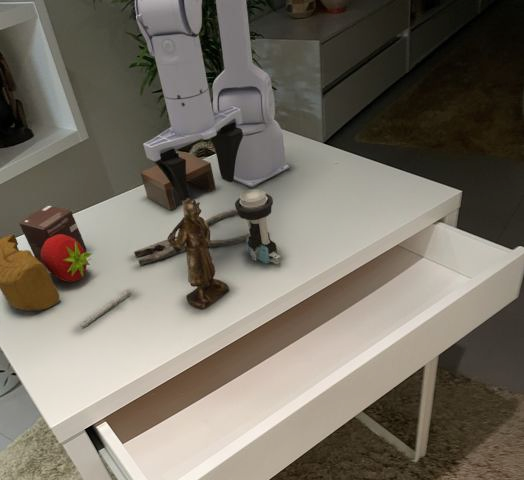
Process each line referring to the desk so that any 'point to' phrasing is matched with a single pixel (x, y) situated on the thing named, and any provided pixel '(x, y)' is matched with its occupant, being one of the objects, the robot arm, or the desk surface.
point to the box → (49, 228)
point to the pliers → (170, 251)
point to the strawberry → (64, 258)
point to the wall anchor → (104, 309)
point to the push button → (257, 224)
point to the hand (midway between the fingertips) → (206, 190)
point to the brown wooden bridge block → (161, 186)
